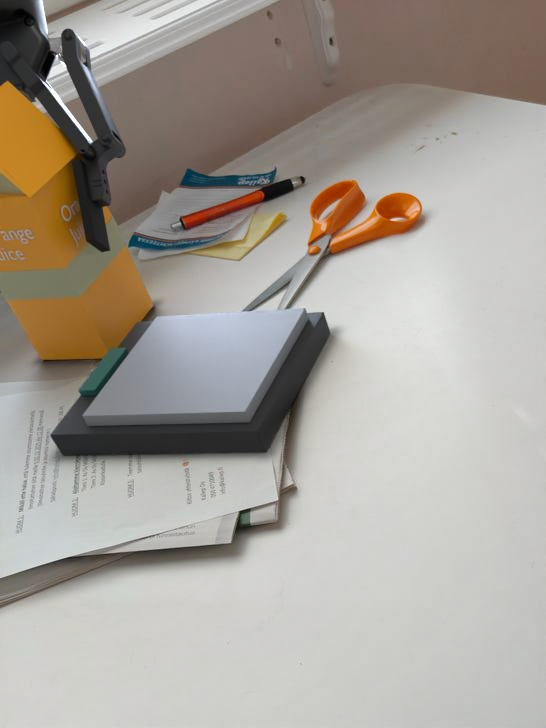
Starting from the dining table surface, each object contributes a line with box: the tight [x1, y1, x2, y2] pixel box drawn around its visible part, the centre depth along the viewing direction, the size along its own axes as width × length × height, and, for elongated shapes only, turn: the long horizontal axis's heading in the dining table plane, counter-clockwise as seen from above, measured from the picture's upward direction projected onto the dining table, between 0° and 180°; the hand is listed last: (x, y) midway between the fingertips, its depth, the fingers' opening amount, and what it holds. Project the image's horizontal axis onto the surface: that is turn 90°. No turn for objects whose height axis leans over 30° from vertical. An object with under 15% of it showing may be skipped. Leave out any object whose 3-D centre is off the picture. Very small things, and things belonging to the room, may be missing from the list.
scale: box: [49, 307, 331, 456], centre depth 78 cm, size 18×16×3 cm
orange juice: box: [0, 81, 154, 361], centre depth 82 cm, size 8×9×20 cm
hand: (41, 257), depth 80 cm, fingers closed on orange juice, 9 cm apart
